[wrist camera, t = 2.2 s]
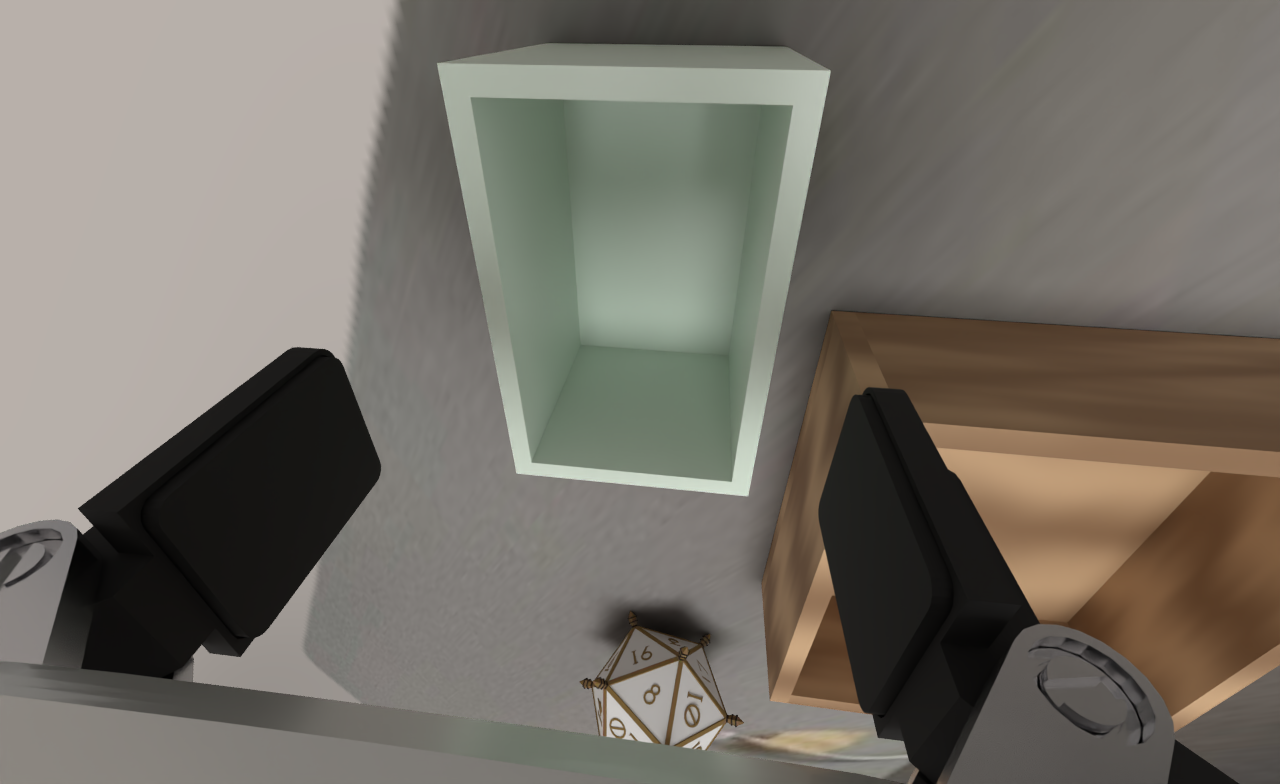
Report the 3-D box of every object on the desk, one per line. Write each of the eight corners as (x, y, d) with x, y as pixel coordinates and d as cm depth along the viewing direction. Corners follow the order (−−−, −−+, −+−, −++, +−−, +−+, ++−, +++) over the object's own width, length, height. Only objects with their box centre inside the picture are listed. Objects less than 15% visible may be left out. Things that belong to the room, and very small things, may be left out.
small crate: (546, 43, 14) (436, 63, 9) (786, 46, 14) (830, 70, 8) (572, 347, 20) (516, 473, 15) (740, 359, 20) (747, 496, 14)
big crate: (831, 310, 18) (871, 418, 13) (1327, 342, 17) (1573, 475, 12) (761, 582, 28) (769, 700, 23) (1067, 618, 26) (1144, 751, 22)
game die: (644, 589, 36) (532, 707, 31) (680, 565, 29) (542, 713, 24) (736, 692, 34) (633, 834, 30) (798, 693, 27) (676, 882, 22)
